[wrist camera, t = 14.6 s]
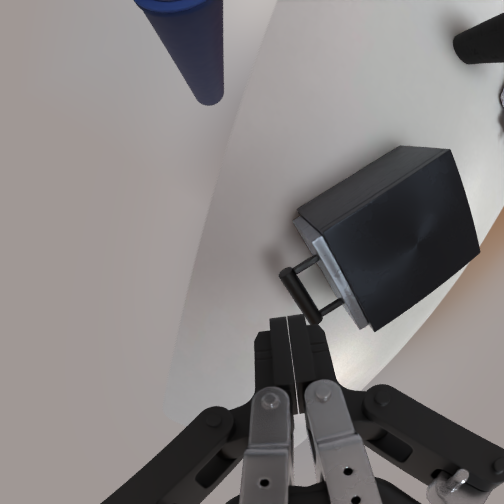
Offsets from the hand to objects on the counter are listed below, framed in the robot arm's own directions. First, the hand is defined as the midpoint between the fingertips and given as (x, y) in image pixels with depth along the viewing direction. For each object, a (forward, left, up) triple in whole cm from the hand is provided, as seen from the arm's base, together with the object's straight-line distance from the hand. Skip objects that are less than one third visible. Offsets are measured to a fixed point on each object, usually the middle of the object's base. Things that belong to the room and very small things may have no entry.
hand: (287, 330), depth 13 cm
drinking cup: (+11, +39, -24) cm, 48 cm away
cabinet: (+13, +8, -24) cm, 29 cm away
